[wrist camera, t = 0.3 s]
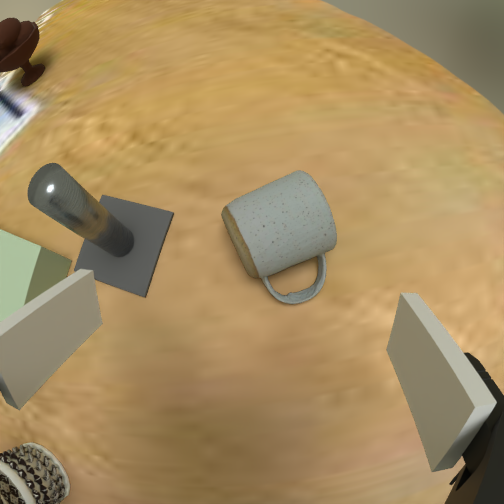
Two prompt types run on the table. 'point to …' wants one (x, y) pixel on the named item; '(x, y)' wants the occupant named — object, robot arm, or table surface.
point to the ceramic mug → (282, 230)
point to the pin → (78, 210)
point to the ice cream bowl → (19, 48)
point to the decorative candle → (32, 476)
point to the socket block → (26, 272)
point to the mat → (142, 254)
